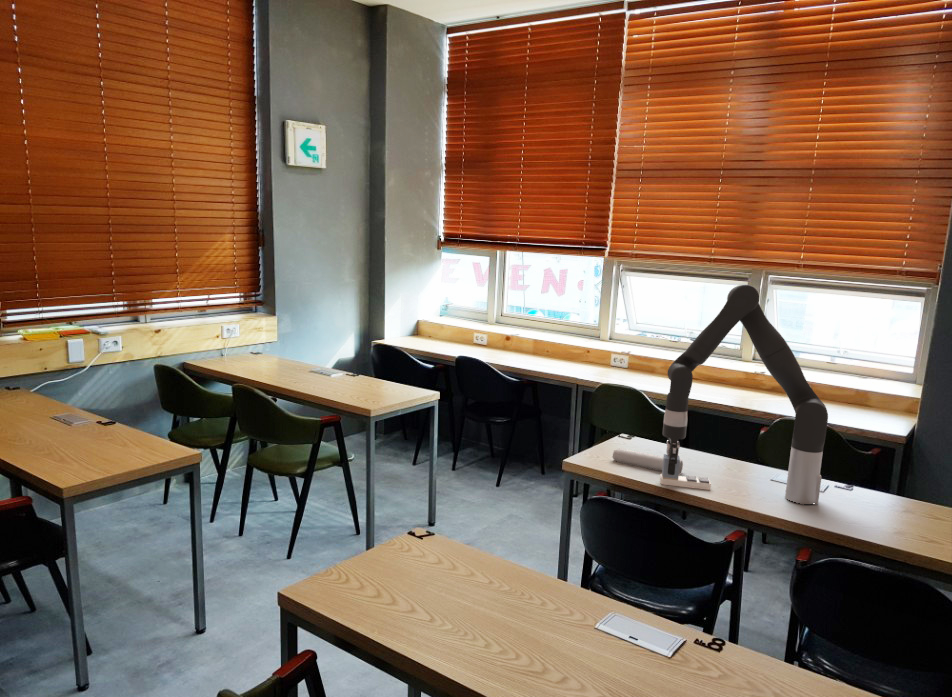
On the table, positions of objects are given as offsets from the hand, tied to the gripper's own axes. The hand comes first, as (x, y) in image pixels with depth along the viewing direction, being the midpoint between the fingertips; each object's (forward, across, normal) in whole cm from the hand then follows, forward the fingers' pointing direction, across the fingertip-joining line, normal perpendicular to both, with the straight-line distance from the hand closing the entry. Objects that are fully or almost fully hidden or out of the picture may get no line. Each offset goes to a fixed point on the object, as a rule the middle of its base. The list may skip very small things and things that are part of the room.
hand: (670, 471), depth 240 cm
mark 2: (+2, 0, -11) cm, 11 cm away
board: (+4, 0, -5) cm, 6 cm away
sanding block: (+2, 0, 0) cm, 2 cm away
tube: (+4, +15, +7) cm, 18 cm away
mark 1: (+2, 0, -7) cm, 7 cm away
